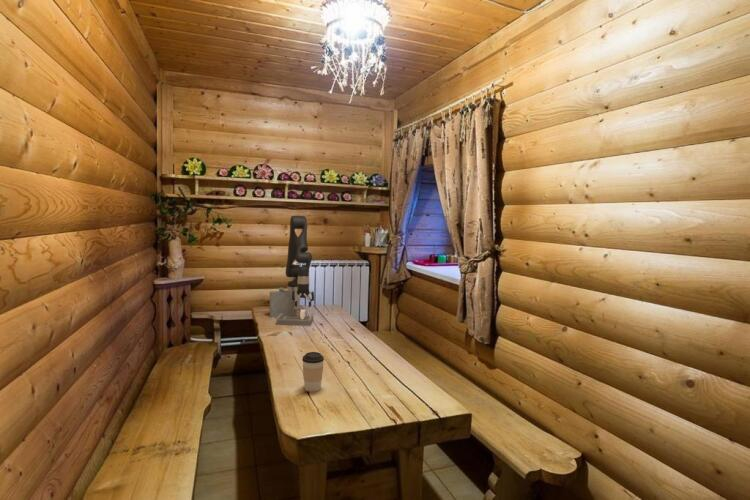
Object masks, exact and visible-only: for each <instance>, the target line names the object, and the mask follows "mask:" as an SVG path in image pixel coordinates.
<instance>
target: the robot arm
mask: <svg viewBox="0 0 750 500" xmlns="http://www.w3.org/2000/svg"><path fill="white" fill-rule="evenodd" d="M295 230H301V232H300V234H299V235H297V233H296V231H295ZM287 249H288V250H287V260H286V266H285V276H286V277H287V278H294V279H292V280H291V281H288V282H287V291H293V292H292V300H293V311H294V310H295V311H296V310H301V309H300V308H301V307H300V306H301V305H300V303H301V299H306V300H308V308H311V306H312V302H314V301H315V292H314V290H311V291H310V266H311V263H312V260H313V255H312V253H311V252H308V250H309V246H308V222H307V217H306V215H291V217H290V221H289V239H288V248H287ZM294 261H295V262H296V263H298V264H293V263H294ZM300 264H304V265H302V266H300ZM310 295H311V296H310Z"/></svg>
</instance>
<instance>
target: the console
mask: <svg viewBox="0 0 750 500" xmlns="http://www.w3.org/2000/svg"><path fill="white" fill-rule="evenodd" d="M313 322H314V313H313V314H310V315H309V316H306V315H305V318H304V319H300V315H293V316H283V313H281V314H280V315H279V316H278V317H276V325H277V326H300V327H301V326H304V327H305V326H306V327H307V326H309V327H310V326H312V324H313Z"/></svg>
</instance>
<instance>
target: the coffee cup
mask: <svg viewBox="0 0 750 500" xmlns="http://www.w3.org/2000/svg"><path fill="white" fill-rule="evenodd" d="M324 360H325V358H324V356H323V355H322V353H321V352H318V351H310V352H306V353H305V354H304V355H303V356H302V360H301V361H302V374H303V384H304V388H303V389H304V391H306V392H310V393H311V392H317V391H318V392H319V391H320V390H321V389H322V380H323V371H324Z"/></svg>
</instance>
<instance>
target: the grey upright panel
mask: <svg viewBox="0 0 750 500" xmlns="http://www.w3.org/2000/svg"><path fill="white" fill-rule="evenodd" d="M292 292H293V291H288V290H285V288H284V287H278V290H277V291H269V318H277V317H278V316H279V315H280V314H281V313H283V316H294V310H293V300H292Z"/></svg>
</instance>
